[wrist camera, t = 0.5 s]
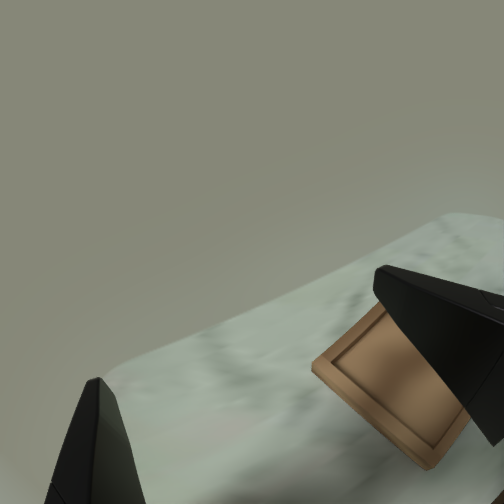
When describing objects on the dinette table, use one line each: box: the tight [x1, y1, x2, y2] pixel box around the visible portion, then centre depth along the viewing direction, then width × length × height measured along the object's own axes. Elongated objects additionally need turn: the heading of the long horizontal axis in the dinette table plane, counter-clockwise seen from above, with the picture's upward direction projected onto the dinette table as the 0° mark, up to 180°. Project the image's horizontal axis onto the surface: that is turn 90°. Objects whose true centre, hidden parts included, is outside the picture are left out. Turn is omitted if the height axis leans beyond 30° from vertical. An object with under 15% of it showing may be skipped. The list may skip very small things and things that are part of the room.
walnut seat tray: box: [311, 301, 471, 471], centre depth 21 cm, size 13×13×2 cm
